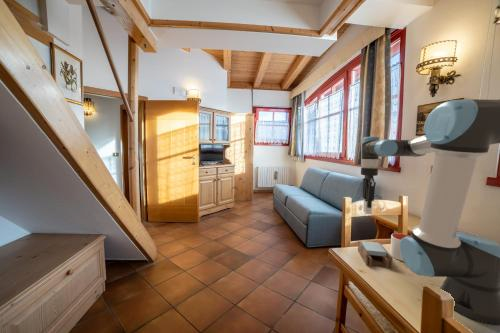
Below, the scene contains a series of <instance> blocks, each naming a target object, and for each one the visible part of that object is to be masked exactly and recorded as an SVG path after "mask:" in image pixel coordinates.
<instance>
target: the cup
mask: <svg viewBox="0 0 500 333" xmlns="http://www.w3.org/2000/svg"><path fill="white" fill-rule="evenodd" d="M406 236H408V237H410V236H411V235H409V234H406V233H405V234H404V233H400V232H398V233H397V232H396V233H392V234H391V235H390V249H389V250H390V251H389V252H390V253H389V254H390V255H391V257H392V258H394V259H395V260H398V261H401V262H404V260H403V257H402V255H401V252H400V241H401V239H402V238H404V237H406Z"/></svg>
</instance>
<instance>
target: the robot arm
mask: <svg viewBox="0 0 500 333" xmlns="http://www.w3.org/2000/svg"><path fill="white" fill-rule="evenodd" d="M423 125H424V126H423V134H424V135H421V136H417V137H415V138H411V139H410V138H409V139H387V138H386V139H384V138H383V139H380V137H379V136H365V137H363V138H362V142H361V158H360V160H361V161H360V167H361V168H360V175H362V176H364V178H362V198H363V211H362V212H363V213H364V214H366V215H372V212H373V211H372V210H373V207H372V206H373V202H374V201H375V192H376V191H375V190H376V189H375V188H376V184H377V183H376V181H375V178H374V177H377V176H378V174H379V168H378V167H379V164H380V160H379V157H415V158H418V157H424V156H426V155H427V154H431V153H434V154H435V155H434V160H433V164H432V169H431V173H430V177H429V181H428V185H427V190H426V194H425V197H424V198H425V200H424V204H423V207H422V211H421V217H420V221H419V224H418V225H415V226H414V227H412V229H411V234H410V235H409V236H410V237H408V236H406V237H404V238H402V239H401V241H400V252H401V255H402V257H403V260H404V261H403V262H404V263H405V265H406V266H407V268H408V269H409V270H410V271H411V272H412V273H413V274H415V275H417V276H420V277H421V276H422V277H429V278H433V277H435V278H436V277H439V278H442V277H443V278H445V280H444V281H443V283H442V284H441V286H440V287H439V290H440V289H442V290H444V291H446V292H448V293H450V294H451V296H452V297H453V298H454V301H455V306H454V310H453V311H456V312H457V313H458V314H461V315H463V316H465V317H467V318H470V319H473V320H474V319H475V321H477V320H479V321H478V322H480V321H483V322H482V323H484V322H486V323H485V324H488V323H490V324H489V325H498V326H499V325H500V243H498V242H496V241H494V240H491V239H490V238H486V237H484V236H481V235H477V234H474V233H473V234H472V233H468V232H464V231H458V229H459V225H460V222H461V218H462V214H463V210H464V209H465V208H464V207H465V204H466V202H467V196H468V193H469V189H470V186H471V184H472V180H473V175H474V173H475V169H476V165H477V161H478V159H479V158H480V157H483V156H485V155H487V154H488V152H489V149H490V146H491V145H495V144H496V145H497V144H500V99H475V98H474V99H473V98H472V99H470V98H469V99H468V98H464V99H451V100H447V101H445V102H442V103H440V104H439V105H437V106H436V107H435V108H434V109H433V110H432V111H431V112H430V113H429V114H428V116H427V118H426V119H425V121H424V124H423Z"/></svg>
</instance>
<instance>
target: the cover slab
mask: <svg viewBox="0 0 500 333" xmlns="http://www.w3.org/2000/svg"><path fill="white" fill-rule="evenodd" d="M360 243H361V245H362V246H363V248H364V249H365V251H366V252H367V254H368V255H376V256H385V257H387V252H388V251H387V250H386V251H387V252H386V251H385V250H384V248H385V247H384V246H383V245H382V244H381V243H380V242H376V241H365V240H360ZM380 244H381V245H382V246H383V247H384V248H383V247H382V246H381V245H380Z"/></svg>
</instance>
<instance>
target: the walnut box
mask: <svg viewBox="0 0 500 333" xmlns="http://www.w3.org/2000/svg"><path fill="white" fill-rule="evenodd" d="M379 244H380V245H381V246H382V247H383V248H384V250H385V251H386V252H387V257H385V256H376V255H368V254H367V252H366V251H365V249H364V248H363V246H362V245H361V241H358V242H357V252H358V254H359V256H360V257H361V258H362V261H363V263H364V265H366V266H369V267H378V268H385V269H393V258H394V257H393V256H392V255H391V253H389V252H388V251H387V249H386V248H385V247H384V246H383V244H381V243H379Z"/></svg>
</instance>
